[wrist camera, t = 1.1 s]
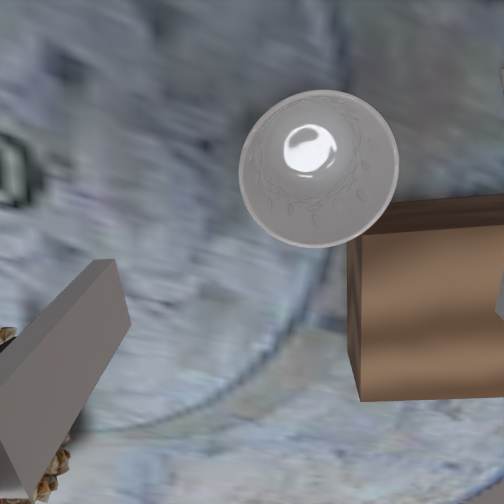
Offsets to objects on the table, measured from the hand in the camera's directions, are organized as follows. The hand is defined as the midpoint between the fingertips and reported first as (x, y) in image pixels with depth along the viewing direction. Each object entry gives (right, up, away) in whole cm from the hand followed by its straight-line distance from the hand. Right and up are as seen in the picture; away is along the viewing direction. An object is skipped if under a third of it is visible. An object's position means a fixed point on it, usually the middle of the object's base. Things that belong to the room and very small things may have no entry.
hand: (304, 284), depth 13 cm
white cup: (+2, +9, +15) cm, 18 cm away
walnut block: (+13, -1, +19) cm, 23 cm away
